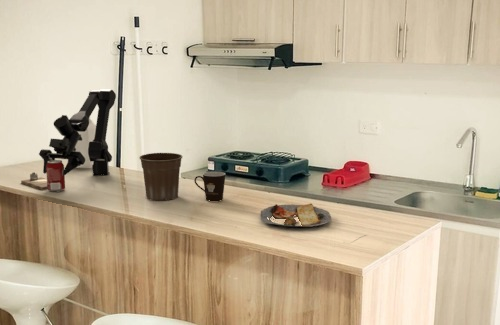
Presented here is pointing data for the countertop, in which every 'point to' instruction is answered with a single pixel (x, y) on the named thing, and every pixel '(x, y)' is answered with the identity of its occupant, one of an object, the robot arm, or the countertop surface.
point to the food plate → (305, 214)
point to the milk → (86, 144)
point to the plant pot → (161, 175)
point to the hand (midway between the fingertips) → (53, 173)
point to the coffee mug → (213, 185)
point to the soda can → (55, 176)
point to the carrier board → (36, 182)
